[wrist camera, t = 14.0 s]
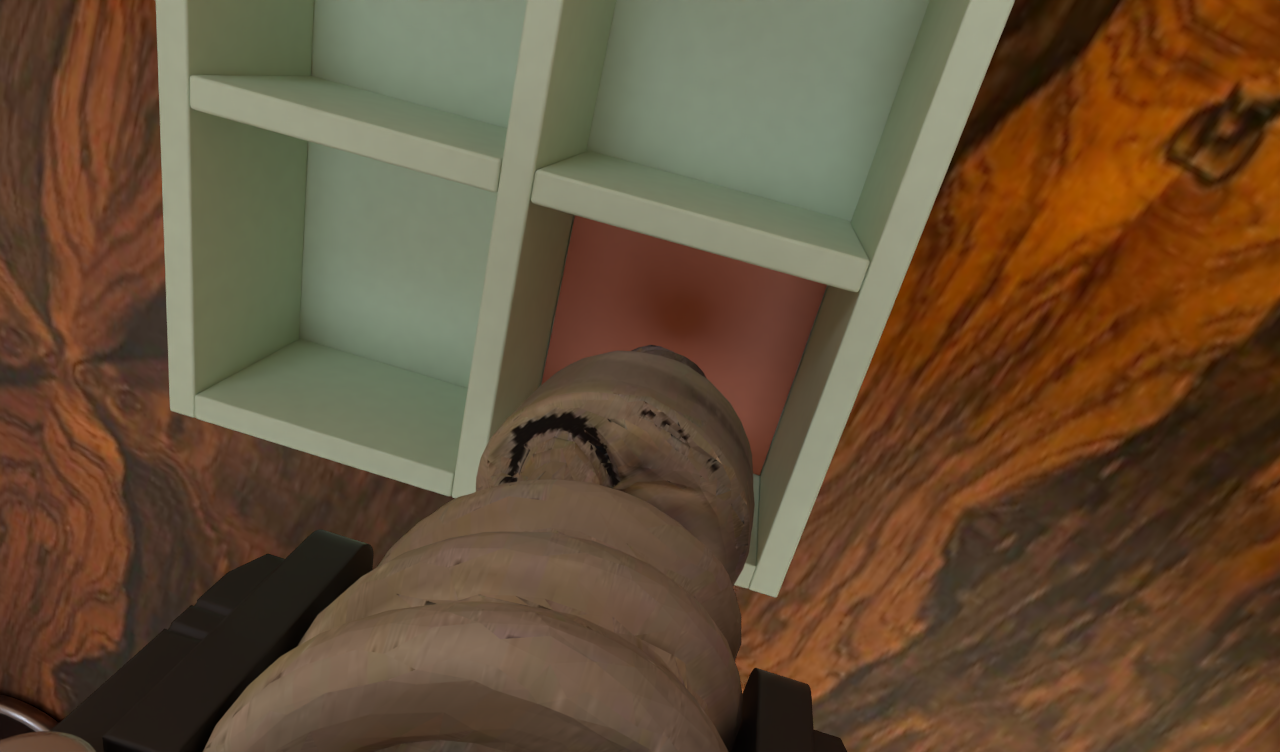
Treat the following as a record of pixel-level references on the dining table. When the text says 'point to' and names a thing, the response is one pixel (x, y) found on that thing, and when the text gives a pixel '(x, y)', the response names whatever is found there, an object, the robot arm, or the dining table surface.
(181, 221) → the divided tray
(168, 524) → the dining table surface
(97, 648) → the dining table surface
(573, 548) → the grey-beige cylinder
